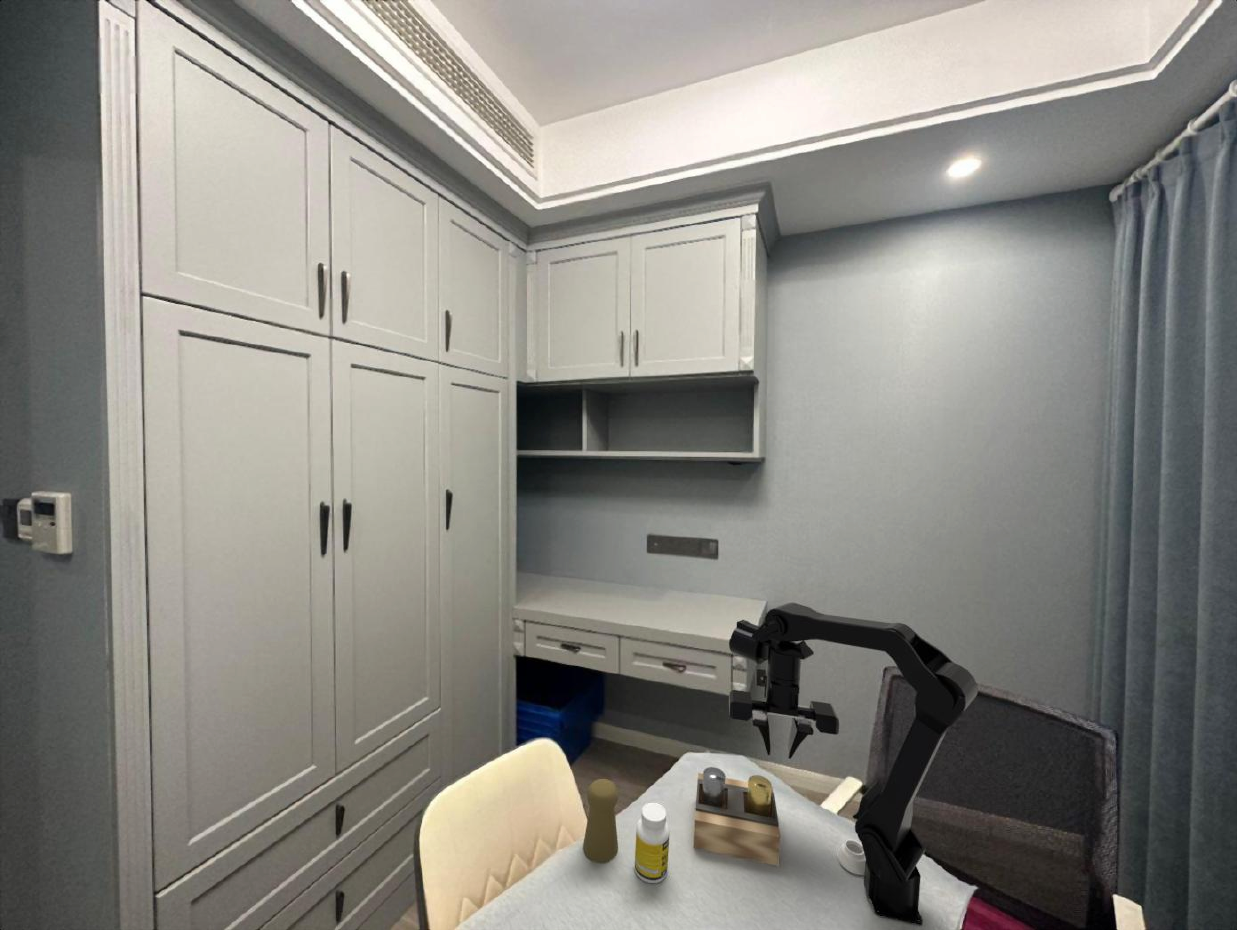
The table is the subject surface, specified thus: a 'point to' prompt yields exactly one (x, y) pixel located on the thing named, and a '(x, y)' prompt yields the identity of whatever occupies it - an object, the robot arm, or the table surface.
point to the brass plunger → (759, 795)
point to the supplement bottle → (652, 844)
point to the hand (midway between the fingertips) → (778, 755)
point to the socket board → (736, 826)
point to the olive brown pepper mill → (601, 822)
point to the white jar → (852, 857)
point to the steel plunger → (713, 787)
